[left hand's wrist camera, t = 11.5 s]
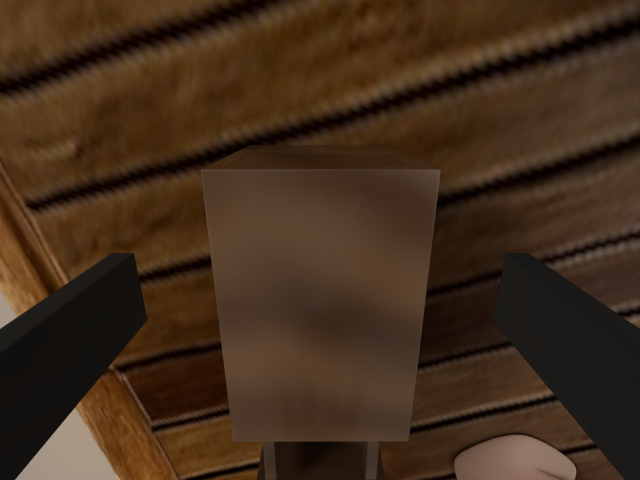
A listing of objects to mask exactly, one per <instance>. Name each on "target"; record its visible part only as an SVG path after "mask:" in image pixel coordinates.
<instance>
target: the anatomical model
mask: <svg viewBox="0 0 640 480" xmlns="http://www.w3.org/2000/svg"><path fill="white" fill-rule="evenodd" d="M454 469H455V473H456V476H457V480H575V477H576V468H575V465H574V464H573V463H572V462H571V461H570V460H569V459H568V458H567V457H566V456H565V455H563V454H562V453H560V452H559V451H558V450H556V449H554V448H553V447H551V446H549V445H548V444H546V443H544V442H542V441H540V440H538V439H535V438H533V437H529V436H526V435H507V436H502V437H498V438H494V439H491V440H488V441H485V442H482V443H480V444H478V445H475V446H473V447H471V448H469V449H467V450H465V451H463V452H462V453H460V454H459V455H458V456H457V457H456V458H455V461H454Z"/></svg>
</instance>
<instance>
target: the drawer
mask: <svg viewBox="0 0 640 480" xmlns="http://www.w3.org/2000/svg"><path fill="white" fill-rule="evenodd" d="M257 480H385V476H384V470H383V465H382V459H381V453H380V448H379V441H306V442H263V446H262V452H261V458H260V464H259V470H258V475H257Z"/></svg>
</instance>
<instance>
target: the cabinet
mask: <svg viewBox="0 0 640 480" xmlns="http://www.w3.org/2000/svg"><path fill="white" fill-rule="evenodd" d="M440 173H441V169H439V168H437V167H435V166H434V165H431V164H429V163H427V162H425V161H423V160H421V159H419V158H417V157H415V156H412V155H410V154H408V153H406V152H404V151H402V150H400V149H398V148H396V147H393V146H391V145H250V146H248V147H246V148H244V149H242V150H240V151H238V152H236V153H234V154H232V155H230V156H228V157H226V158H224V159H222V160H220V161H218V162H215V163H213V164H211V165H209V166H207V167H205V168H203V169H201V177H202V186H203V194H204V202H205V211H206V219H207V227H208V235H209V244H210V252H211V260H212V268H213V277H214V285H215V293H216V301H217V310H218V318H219V326H220V334H221V343H222V351H223V359H224V368H225V376H226V384H227V392H228V401H229V409H230V417H231V425H232V434H233V441H234V442H306V441H409V433H410V425H411V416H412V408H413V399H414V391H415V383H416V374H417V366H418V357H419V349H420V341H421V332H422V324H423V316H424V307H425V299H426V290H427V282H428V274H429V265H430V257H431V248H432V240H433V232H434V223H435V215H436V206H437V198H438V190H439V181H440Z"/></svg>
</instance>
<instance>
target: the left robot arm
mask: <svg viewBox="0 0 640 480" xmlns="http://www.w3.org/2000/svg"><path fill="white" fill-rule="evenodd" d="M146 321H147V316H146V311H145V306H144V301H143V296H142V291H141V286H140V281H139V276H138V271H137V267H136V262H135V257H134V253H112V254H110V255H109V256H107V257H106V258H104V259H103V260H101V261H100V262H98V263H97V264H95V265H94V266H92V267H91V268H89V269H88V270H86V271H85V272H84V273H82V274H81V275H79V276H78V277H76V278H75V279H73V280H72V281H70V282H69V283H67V284H66V285H64V286H63V287H61V288H60V289H58V290H57V291H55V292H54V293H53V294H51V295H50V296H48V297H47V298H45V299H44V300H42V301H41V302H39V303H38V304H36V305H35V306H33V307H32V308H30V309H29V310H27V311H26V312H24V313H23V314H22V315H20V316H19V317H17V318H16V319H14V320H13V321H11V322H10V323H8V324H7V325H5V326H4V327H2V328H1V329H0V480H15V479H16V478H17V477H18V475H19V474H20V473H21V472H22V471H23V469H24V468H25V467H26V466H27V465H28V463H29V462H30V461H31V460H32V459H33V457H34V456H35V455H36V454H37V453H38V451H39V450H40V449H41V448H42V447H43V445H44V444H45V443H46V442H47V441H48V439H49V438H50V437H51V436H52V434H53V433H54V432H55V431H56V430H57V428H58V427H59V426H60V425H61V424H62V422H63V421H64V420H65V419H66V418H67V416H68V415H69V414H70V413H71V412H72V410H73V409H74V408H75V407H76V406H77V404H78V403H79V402H80V401H81V400H82V398H83V397H84V396H85V395H86V394H87V392H88V391H89V390H90V389H91V388H92V386H93V385H94V384H95V383H96V381H97V380H98V379H99V378H100V377H101V375H102V374H103V373H104V372H105V371H106V369H107V368H108V367H109V366H110V365H111V363H112V362H113V361H114V360H115V359H116V357H117V356H118V355H119V354H120V353H121V351H122V350H123V349H124V348H125V347H126V345H127V344H128V343H129V342H130V341H131V339H132V338H133V337H134V336H135V335H136V333H137V332H138V331H139V330H140V328H141V327H142V326H143V325H144V324H145V322H146ZM493 321H494V322H495V324H496V325H497V326H498V327H499V329H500V330H501V331H502V332H503V333H504V335H505V336H506V337H507V338H508V339H509V341H510V342H511V343H512V344H513V345H514V347H515V348H516V349H517V350H518V351H519V353H520V354H521V355H522V356H523V357H524V359H525V360H526V361H527V362H528V363H529V365H530V366H531V367H532V368H533V369H534V371H535V372H536V373H537V374H538V375H539V377H540V378H541V379H542V380H543V381H544V383H545V384H546V385H547V386H548V388H549V389H550V390H551V391H552V392H553V394H554V395H555V396H556V397H557V398H558V400H559V401H560V402H561V403H562V404H563V406H564V407H565V408H566V409H567V410H568V412H569V413H570V414H571V415H572V416H573V418H574V419H575V420H576V421H577V422H578V424H579V425H580V426H581V427H582V428H583V430H584V431H585V432H586V433H587V434H588V436H589V437H590V438H591V439H592V441H593V442H594V443H595V444H596V445H597V447H598V448H599V449H600V450H601V451H602V453H603V454H604V455H605V456H606V457H607V459H608V460H609V461H610V462H611V463H612V465H613V466H614V467H615V468H616V469H617V471H618V472H619V473H620V474H621V475H622V477H623V478H624V479H625V480H640V328H638V327H636V326H635V325H633V324H632V323H630V322H629V321H627V320H626V319H624V318H623V317H621V316H620V315H618V314H617V313H616V312H614V311H613V310H611V309H610V308H608V307H607V306H605V305H604V304H602V303H601V302H599V301H598V300H596V299H595V298H593V297H592V296H590V295H589V294H587V293H586V292H585V291H583V290H582V289H580V288H579V287H577V286H576V285H574V284H573V283H571V282H570V281H568V280H567V279H565V278H564V277H562V276H561V275H559V274H558V273H556V272H555V271H554V270H552V269H551V268H549V267H548V266H546V265H545V264H543V263H542V262H540V261H539V260H537V259H536V258H534V257H533V256H531V255H530V254H528V253H506V257H505V262H504V267H503V271H502V276H501V281H500V286H499V291H498V296H497V301H496V306H495V311H494V316H493Z"/></svg>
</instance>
